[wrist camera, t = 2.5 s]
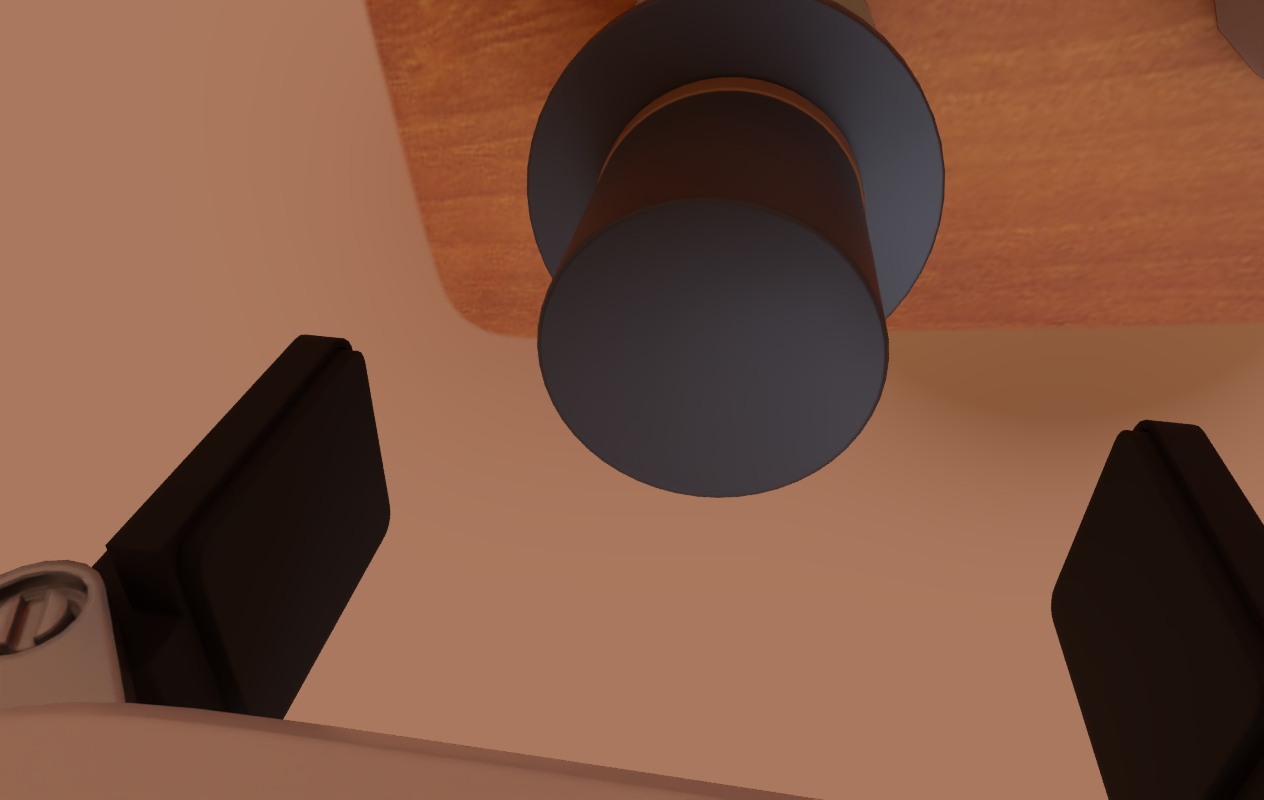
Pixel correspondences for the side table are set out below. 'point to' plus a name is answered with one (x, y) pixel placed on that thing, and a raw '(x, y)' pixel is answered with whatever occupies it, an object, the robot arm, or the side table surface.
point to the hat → (728, 237)
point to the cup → (1244, 29)
